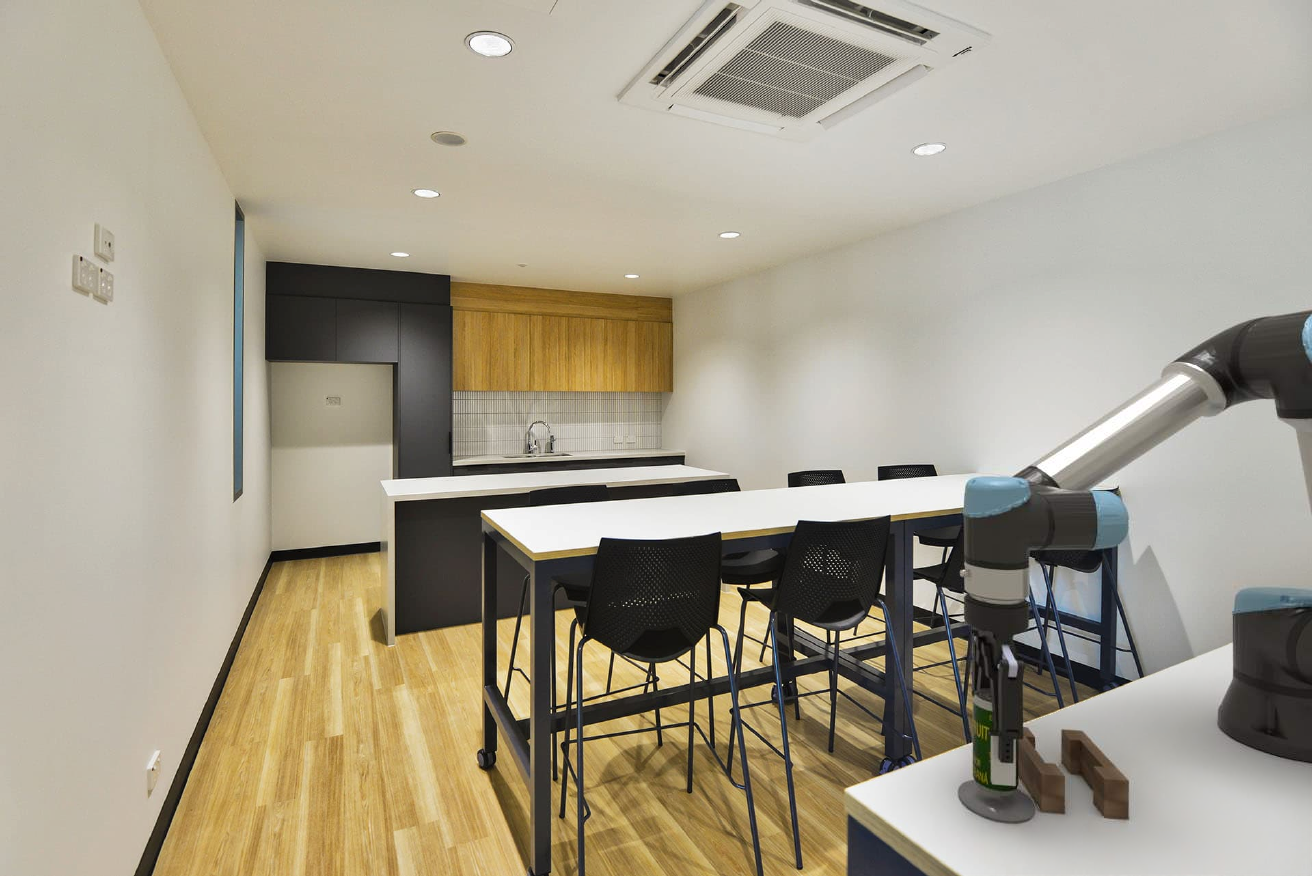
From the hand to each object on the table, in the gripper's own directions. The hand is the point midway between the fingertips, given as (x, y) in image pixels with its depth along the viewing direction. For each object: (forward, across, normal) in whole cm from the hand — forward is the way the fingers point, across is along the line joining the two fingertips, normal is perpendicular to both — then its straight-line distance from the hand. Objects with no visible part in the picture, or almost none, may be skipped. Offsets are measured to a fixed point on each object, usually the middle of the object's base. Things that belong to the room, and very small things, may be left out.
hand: (995, 770), depth 87 cm
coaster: (+4, 0, 0) cm, 4 cm away
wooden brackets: (+4, -5, +10) cm, 12 cm away
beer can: (+2, 0, 0) cm, 2 cm away
